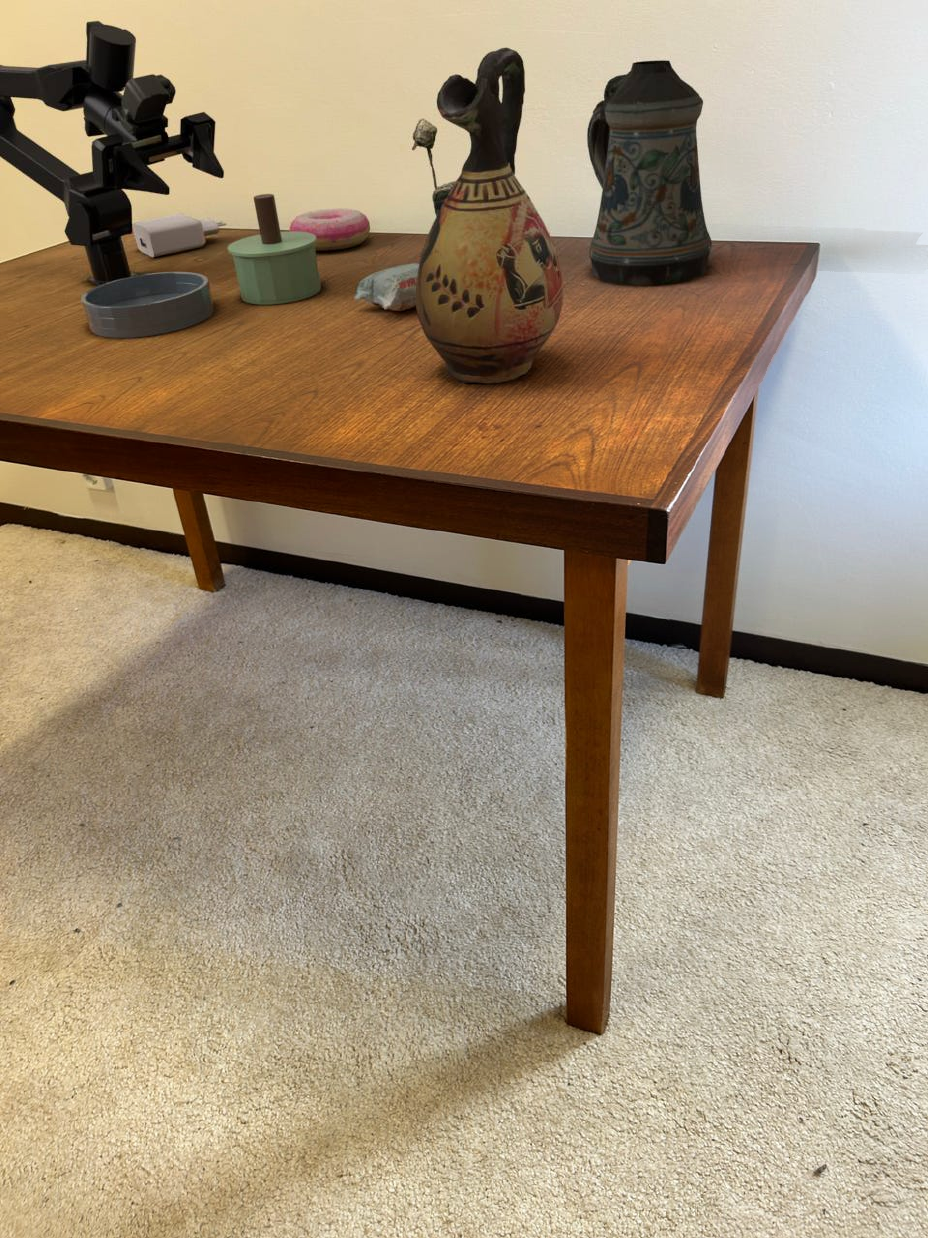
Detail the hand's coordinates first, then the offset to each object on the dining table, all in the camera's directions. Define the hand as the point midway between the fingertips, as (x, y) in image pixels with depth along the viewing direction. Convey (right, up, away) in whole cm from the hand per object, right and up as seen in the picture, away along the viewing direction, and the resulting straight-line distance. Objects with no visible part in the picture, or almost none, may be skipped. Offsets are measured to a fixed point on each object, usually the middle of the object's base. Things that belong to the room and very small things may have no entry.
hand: (196, 182), depth 128 cm
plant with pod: (+35, -7, +13) cm, 38 cm away
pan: (-7, -18, +2) cm, 19 cm away
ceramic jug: (+40, -31, -24) cm, 56 cm away
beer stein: (+61, -10, +4) cm, 62 cm away
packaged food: (+29, -18, -2) cm, 34 cm away
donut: (+14, +4, +31) cm, 34 cm away
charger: (-13, +7, +39) cm, 41 cm away
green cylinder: (+10, -12, +8) cm, 18 cm away
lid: (+9, -7, +5) cm, 12 cm away
